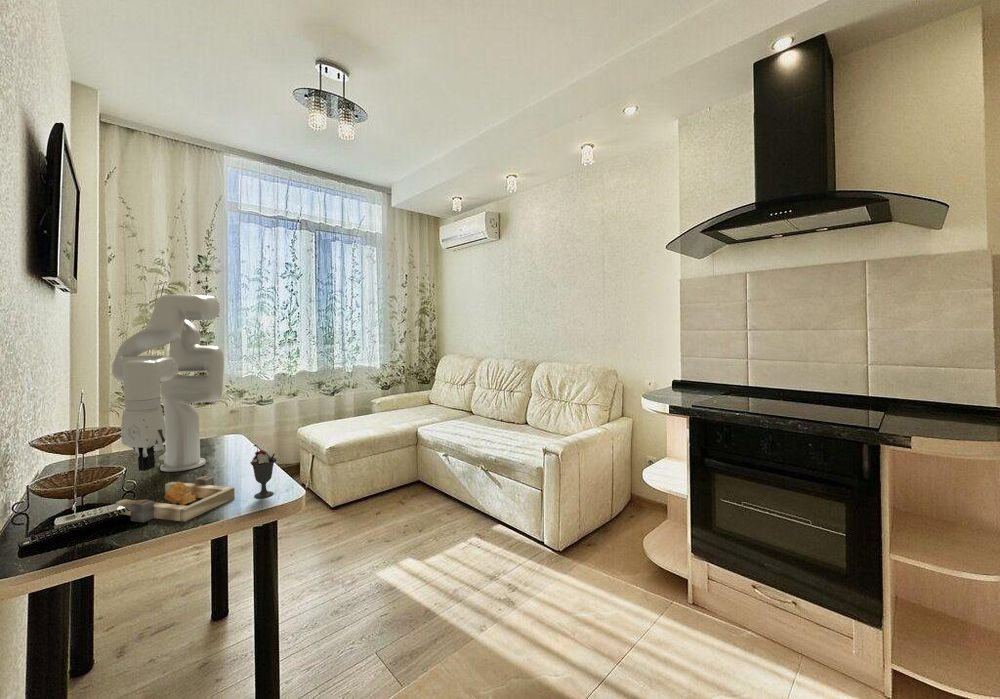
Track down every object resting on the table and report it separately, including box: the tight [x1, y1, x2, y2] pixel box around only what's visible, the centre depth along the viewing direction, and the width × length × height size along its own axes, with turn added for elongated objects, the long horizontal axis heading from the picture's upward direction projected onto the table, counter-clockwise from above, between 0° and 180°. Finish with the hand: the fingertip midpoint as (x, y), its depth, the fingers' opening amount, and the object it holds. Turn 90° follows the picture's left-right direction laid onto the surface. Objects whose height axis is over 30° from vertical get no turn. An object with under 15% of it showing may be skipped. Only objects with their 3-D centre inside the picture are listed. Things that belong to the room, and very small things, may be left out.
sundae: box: [249, 444, 277, 499], centre depth 120 cm, size 7×7×15 cm
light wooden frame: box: [115, 475, 235, 523], centre depth 113 cm, size 22×20×5 cm
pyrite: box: [163, 481, 197, 506], centre depth 114 cm, size 5×7×4 cm
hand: (146, 468), depth 116 cm, fingers closed
